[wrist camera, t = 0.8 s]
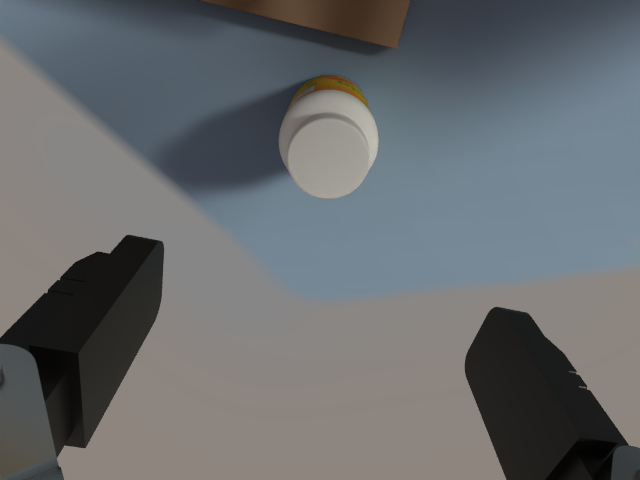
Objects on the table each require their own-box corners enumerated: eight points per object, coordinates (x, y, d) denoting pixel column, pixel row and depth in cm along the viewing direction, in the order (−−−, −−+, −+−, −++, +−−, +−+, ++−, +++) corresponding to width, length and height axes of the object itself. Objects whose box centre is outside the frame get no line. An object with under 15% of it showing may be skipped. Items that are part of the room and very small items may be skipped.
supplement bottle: (385, 117, 28) (409, 164, 20) (326, 169, 30) (325, 232, 21) (331, 54, 26) (332, 75, 18) (272, 113, 28) (248, 158, 20)
